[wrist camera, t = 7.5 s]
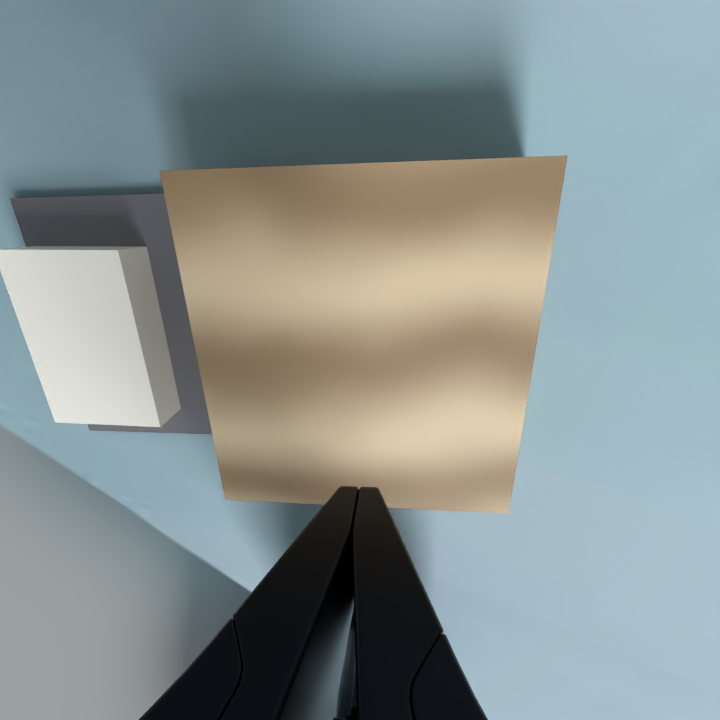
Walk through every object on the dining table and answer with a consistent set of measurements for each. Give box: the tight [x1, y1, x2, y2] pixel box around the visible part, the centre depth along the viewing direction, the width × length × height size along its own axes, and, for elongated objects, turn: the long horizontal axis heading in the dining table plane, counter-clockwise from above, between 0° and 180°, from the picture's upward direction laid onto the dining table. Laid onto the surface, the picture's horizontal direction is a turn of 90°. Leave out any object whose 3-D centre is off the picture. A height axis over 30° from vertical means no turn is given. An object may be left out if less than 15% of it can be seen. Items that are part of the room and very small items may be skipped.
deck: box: [160, 156, 567, 513], centre depth 17 cm, size 15×14×4 cm
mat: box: [10, 193, 212, 434], centre depth 20 cm, size 13×10×1 cm
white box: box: [0, 246, 181, 427], centre depth 19 cm, size 9×6×2 cm, turn 0°
